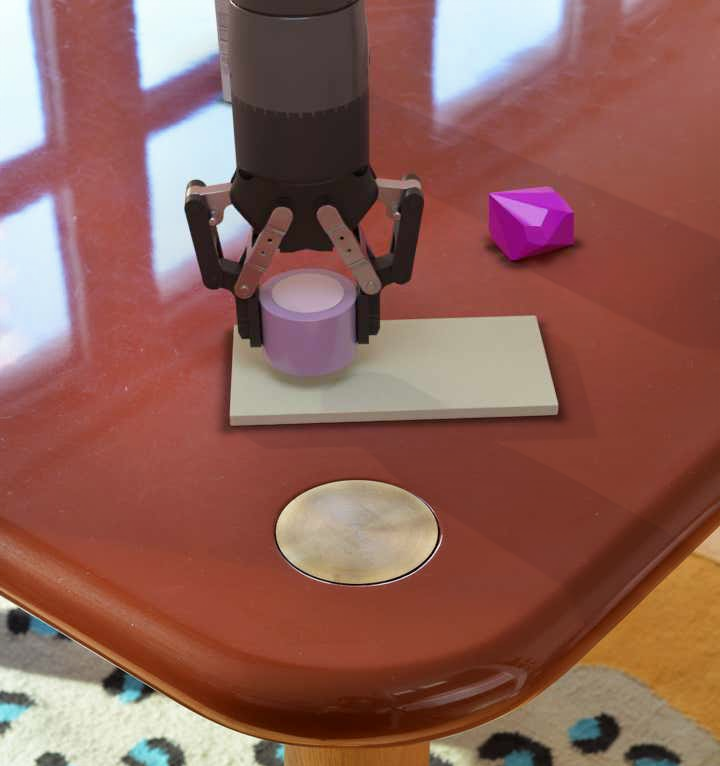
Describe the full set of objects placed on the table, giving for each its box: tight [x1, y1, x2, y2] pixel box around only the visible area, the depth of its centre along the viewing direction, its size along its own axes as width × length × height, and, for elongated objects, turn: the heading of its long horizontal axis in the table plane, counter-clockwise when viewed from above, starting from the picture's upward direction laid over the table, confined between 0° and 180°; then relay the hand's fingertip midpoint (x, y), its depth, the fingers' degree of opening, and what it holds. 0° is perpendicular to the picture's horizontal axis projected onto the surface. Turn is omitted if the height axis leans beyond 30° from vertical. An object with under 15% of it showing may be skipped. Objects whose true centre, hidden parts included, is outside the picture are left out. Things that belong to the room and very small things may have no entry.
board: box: [229, 315, 559, 427], centre depth 86 cm, size 20×10×1 cm, turn 92°
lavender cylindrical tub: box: [259, 267, 358, 376], centre depth 84 cm, size 6×6×4 cm
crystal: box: [488, 185, 575, 261], centre depth 97 cm, size 5×5×5 cm
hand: (310, 338), depth 84 cm, fingers closed on lavender cylindrical tub, 6 cm apart
